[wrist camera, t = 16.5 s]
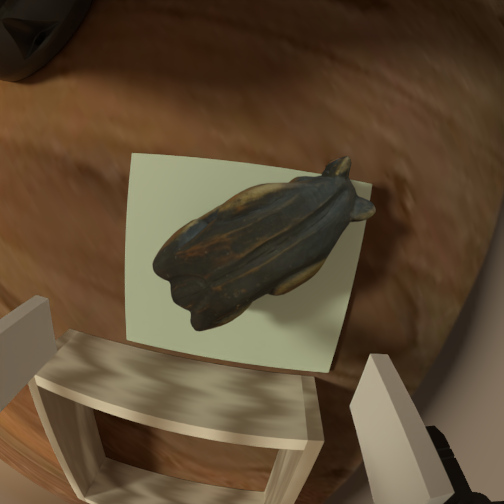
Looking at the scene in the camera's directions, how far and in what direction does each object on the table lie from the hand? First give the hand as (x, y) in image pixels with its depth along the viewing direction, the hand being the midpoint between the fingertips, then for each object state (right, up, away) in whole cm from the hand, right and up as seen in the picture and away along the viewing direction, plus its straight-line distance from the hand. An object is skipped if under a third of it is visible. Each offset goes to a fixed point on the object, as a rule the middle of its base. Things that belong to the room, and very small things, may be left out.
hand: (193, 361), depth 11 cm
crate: (-6, -16, +18) cm, 25 cm away
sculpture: (+3, +3, +14) cm, 14 cm away
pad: (+1, +3, +13) cm, 13 cm away
